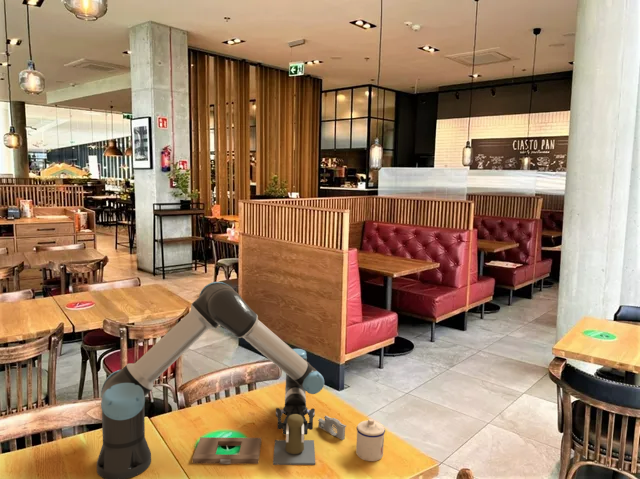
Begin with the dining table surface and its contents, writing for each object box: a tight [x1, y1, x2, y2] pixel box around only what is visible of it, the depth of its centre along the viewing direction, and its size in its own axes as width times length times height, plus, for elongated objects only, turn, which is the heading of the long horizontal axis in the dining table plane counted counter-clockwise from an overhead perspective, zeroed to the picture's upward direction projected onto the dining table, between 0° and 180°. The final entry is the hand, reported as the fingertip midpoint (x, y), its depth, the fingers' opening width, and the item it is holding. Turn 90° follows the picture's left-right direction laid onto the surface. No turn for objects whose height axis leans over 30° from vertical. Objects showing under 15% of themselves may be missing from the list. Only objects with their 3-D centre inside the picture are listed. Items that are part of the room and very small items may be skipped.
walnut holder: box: [192, 436, 262, 465], centre depth 152 cm, size 20×13×2 cm, turn 93°
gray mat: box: [272, 439, 316, 466], centre depth 153 cm, size 13×13×1 cm
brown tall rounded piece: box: [285, 414, 304, 454], centre depth 153 cm, size 6×6×11 cm
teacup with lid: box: [355, 418, 386, 462], centre depth 155 cm, size 12×9×12 cm
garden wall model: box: [317, 415, 347, 441], centre depth 166 cm, size 12×2×6 cm, turn 45°
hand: (295, 438), depth 147 cm, fingers closed on brown tall rounded piece, 4 cm apart
